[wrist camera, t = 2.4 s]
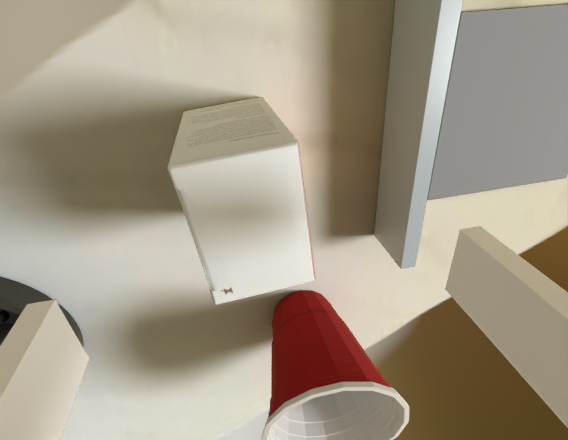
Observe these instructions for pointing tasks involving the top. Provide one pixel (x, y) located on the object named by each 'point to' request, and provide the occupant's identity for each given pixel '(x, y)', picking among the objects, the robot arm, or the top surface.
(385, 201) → the low wall
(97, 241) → the top surface
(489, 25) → the mat
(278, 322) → the plastic cup
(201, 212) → the small box
